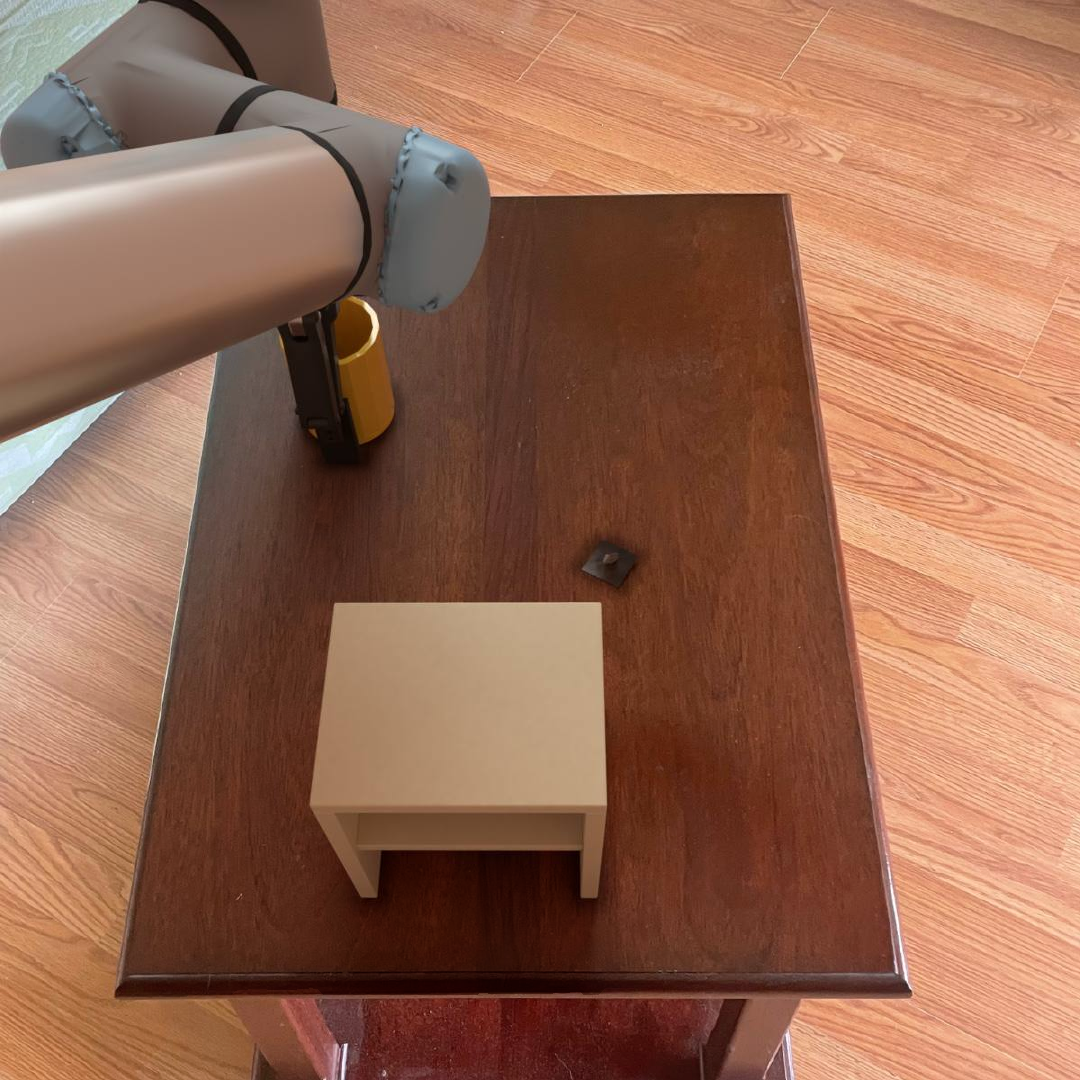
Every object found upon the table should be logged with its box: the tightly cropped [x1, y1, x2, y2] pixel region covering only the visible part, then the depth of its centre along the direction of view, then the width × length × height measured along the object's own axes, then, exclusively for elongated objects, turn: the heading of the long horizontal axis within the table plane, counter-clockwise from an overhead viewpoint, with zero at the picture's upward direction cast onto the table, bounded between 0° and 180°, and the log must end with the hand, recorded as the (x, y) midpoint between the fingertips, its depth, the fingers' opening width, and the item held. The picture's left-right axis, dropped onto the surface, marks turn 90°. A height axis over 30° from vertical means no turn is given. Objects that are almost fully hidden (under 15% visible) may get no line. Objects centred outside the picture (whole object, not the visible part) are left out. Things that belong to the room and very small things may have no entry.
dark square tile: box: [581, 539, 639, 589], centre depth 77 cm, size 3×3×1 cm
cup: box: [278, 296, 396, 445], centre depth 82 cm, size 7×7×9 cm
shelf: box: [309, 601, 608, 899], centre depth 61 cm, size 14×11×16 cm
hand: (349, 409), depth 85 cm, fingers open, 9 cm apart
